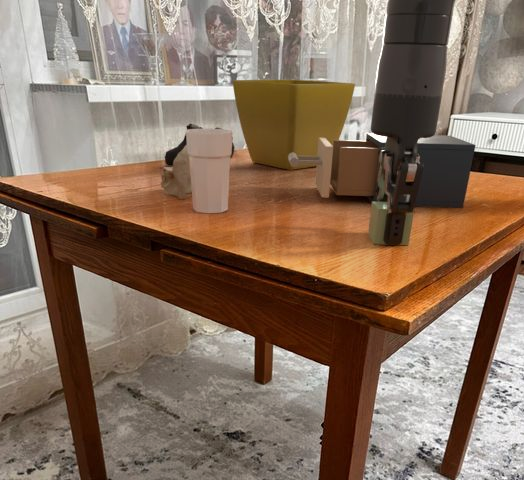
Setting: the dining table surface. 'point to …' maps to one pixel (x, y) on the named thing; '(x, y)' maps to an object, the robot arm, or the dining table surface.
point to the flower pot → (290, 117)
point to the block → (379, 221)
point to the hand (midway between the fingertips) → (388, 237)
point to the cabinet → (438, 170)
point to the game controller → (174, 152)
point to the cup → (209, 168)
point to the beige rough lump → (178, 176)
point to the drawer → (343, 166)
